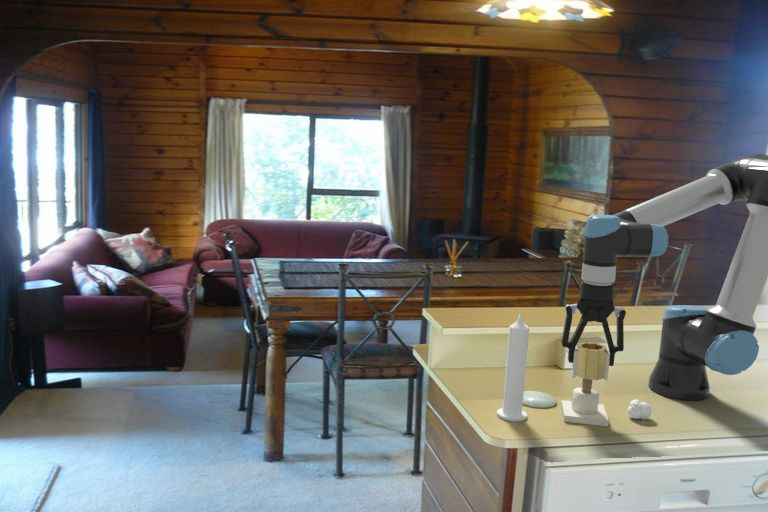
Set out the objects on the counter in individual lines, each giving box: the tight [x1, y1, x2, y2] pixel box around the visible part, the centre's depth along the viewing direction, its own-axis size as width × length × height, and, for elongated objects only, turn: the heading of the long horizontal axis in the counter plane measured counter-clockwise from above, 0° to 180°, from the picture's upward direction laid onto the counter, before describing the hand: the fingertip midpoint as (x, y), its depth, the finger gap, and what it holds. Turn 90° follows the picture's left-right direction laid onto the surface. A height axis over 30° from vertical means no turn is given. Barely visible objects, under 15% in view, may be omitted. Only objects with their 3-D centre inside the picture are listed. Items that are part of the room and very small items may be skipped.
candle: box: [496, 312, 530, 423], centre depth 173 cm, size 7×7×25 cm
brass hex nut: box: [576, 341, 608, 381], centre depth 175 cm, size 7×7×7 cm
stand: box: [560, 378, 610, 427], centre depth 176 cm, size 10×10×10 cm
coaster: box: [523, 390, 558, 409], centre depth 185 cm, size 10×10×1 cm
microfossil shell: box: [627, 399, 653, 421], centre depth 178 cm, size 4×5×6 cm
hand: (589, 376), depth 175 cm, fingers closed on brass hex nut, 7 cm apart
